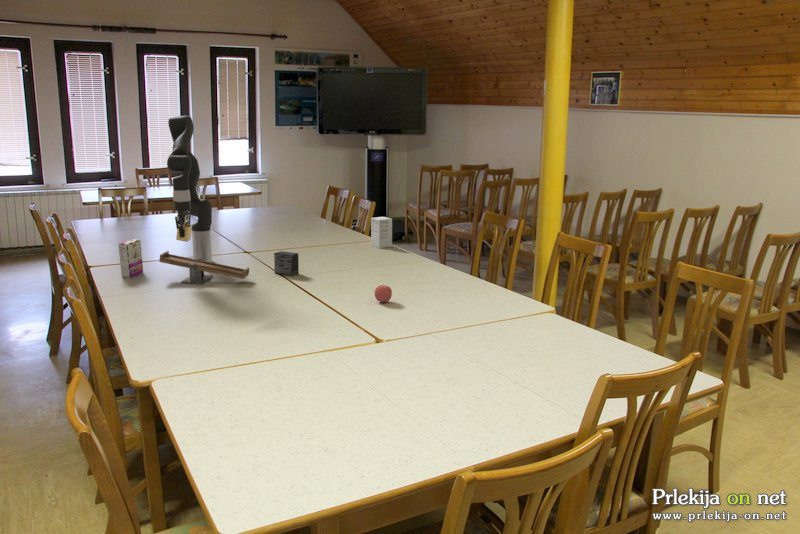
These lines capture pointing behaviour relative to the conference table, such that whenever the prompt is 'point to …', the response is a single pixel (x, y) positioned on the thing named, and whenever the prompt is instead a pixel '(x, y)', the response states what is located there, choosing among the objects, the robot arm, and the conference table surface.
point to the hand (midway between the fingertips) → (184, 235)
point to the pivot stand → (196, 276)
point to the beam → (204, 265)
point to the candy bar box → (130, 258)
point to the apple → (383, 293)
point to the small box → (286, 263)
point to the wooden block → (187, 233)
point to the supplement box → (381, 232)
